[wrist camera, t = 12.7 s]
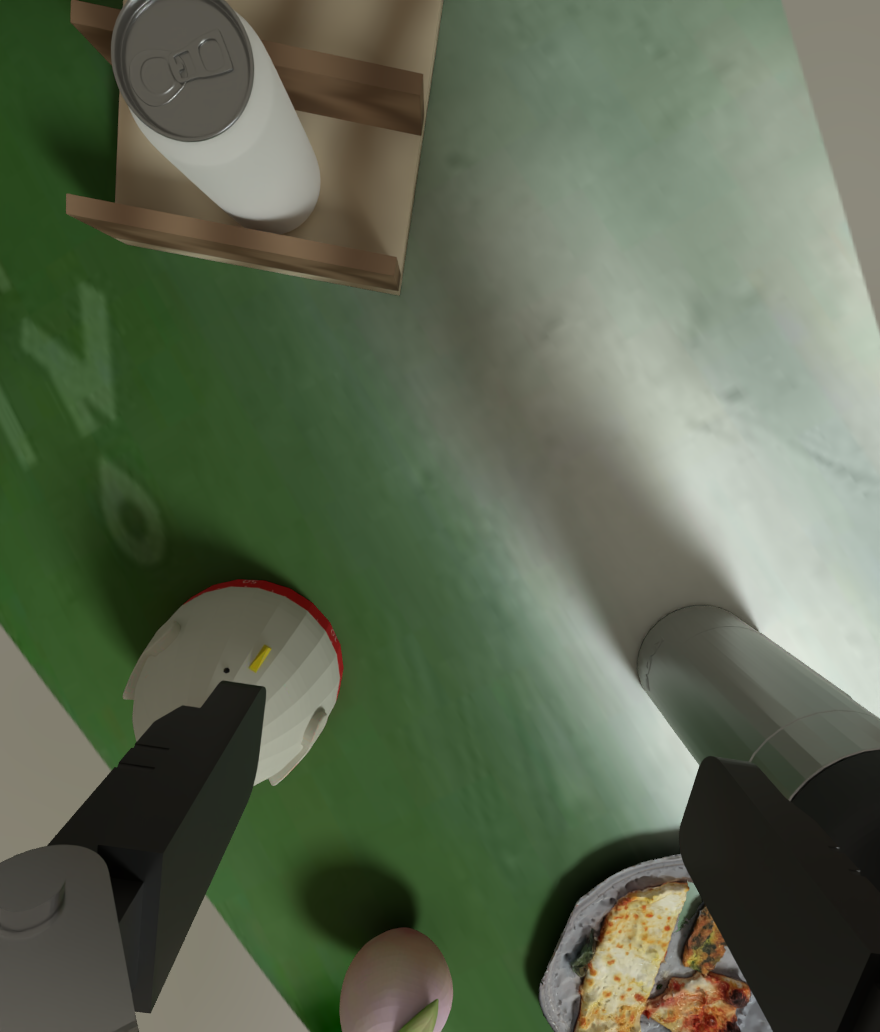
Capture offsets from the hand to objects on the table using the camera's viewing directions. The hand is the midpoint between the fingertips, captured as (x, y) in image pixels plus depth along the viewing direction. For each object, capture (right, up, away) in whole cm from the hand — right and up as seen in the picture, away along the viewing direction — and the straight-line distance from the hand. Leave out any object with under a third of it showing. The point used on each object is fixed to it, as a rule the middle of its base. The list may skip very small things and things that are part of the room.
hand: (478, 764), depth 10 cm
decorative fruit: (-4, -33, +38) cm, 50 cm away
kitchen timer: (-15, -7, +32) cm, 36 cm away
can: (-11, +25, +24) cm, 36 cm away
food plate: (+20, -36, +39) cm, 57 cm away
